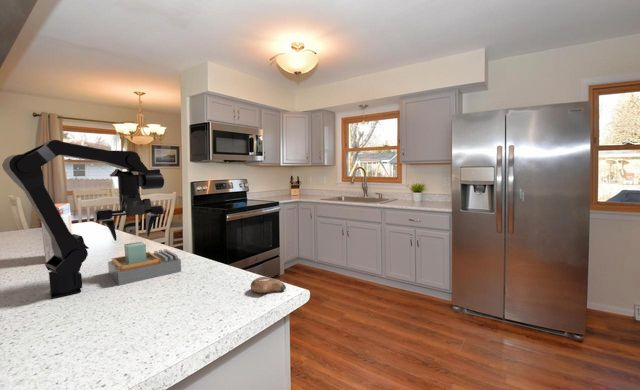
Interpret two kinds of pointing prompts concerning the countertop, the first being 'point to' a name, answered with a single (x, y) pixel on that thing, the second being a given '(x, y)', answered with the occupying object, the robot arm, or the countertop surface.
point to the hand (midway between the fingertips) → (132, 238)
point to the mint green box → (135, 252)
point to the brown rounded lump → (267, 285)
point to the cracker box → (66, 216)
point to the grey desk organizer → (144, 267)
